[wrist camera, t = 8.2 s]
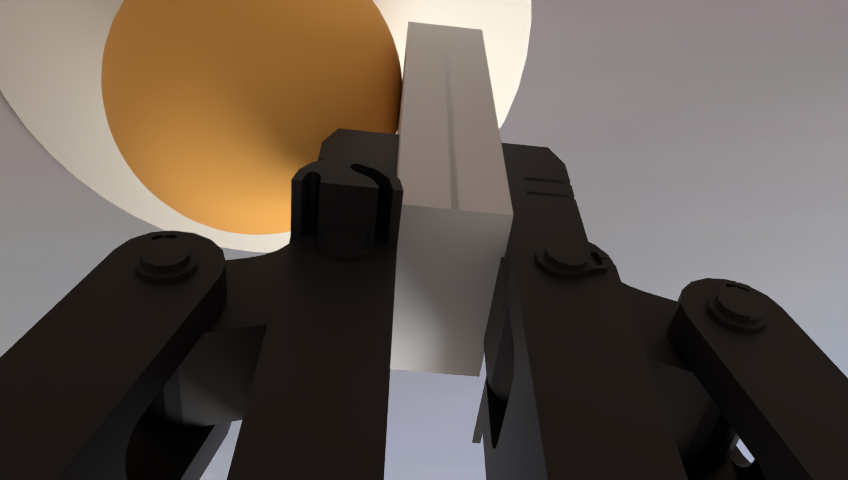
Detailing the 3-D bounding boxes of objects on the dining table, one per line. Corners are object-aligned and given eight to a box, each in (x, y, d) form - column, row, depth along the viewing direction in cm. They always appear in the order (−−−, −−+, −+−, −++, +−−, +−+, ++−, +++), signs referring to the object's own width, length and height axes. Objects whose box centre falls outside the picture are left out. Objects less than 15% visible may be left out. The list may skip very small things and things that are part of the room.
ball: (224, -117, 16) (-1, -67, 12) (469, -52, 14) (309, 34, 10) (230, 119, 19) (55, 226, 15) (429, 194, 18) (296, 335, 13)
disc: (-116, -369, 13) (-124, -370, 13) (590, -269, 14) (591, -269, 13) (18, 225, 20) (14, 230, 19) (482, 267, 20) (483, 272, 20)
